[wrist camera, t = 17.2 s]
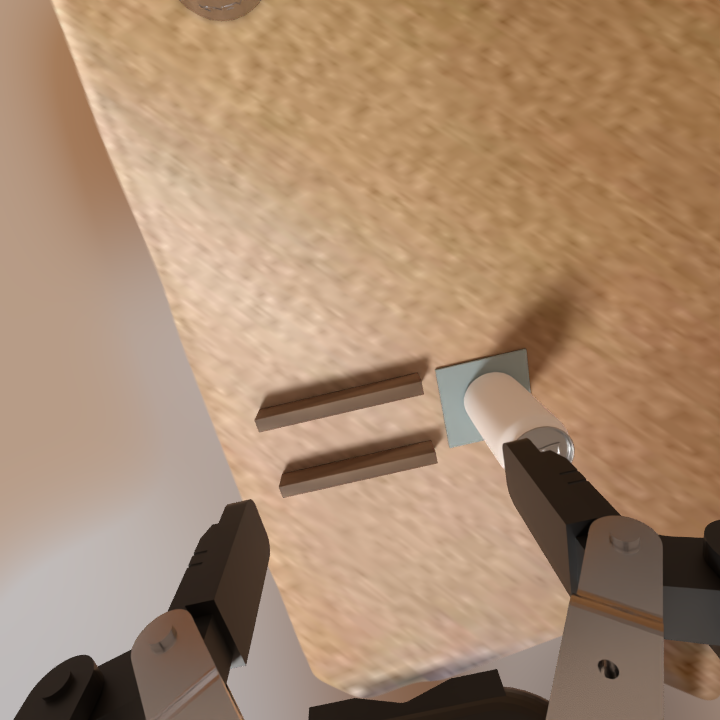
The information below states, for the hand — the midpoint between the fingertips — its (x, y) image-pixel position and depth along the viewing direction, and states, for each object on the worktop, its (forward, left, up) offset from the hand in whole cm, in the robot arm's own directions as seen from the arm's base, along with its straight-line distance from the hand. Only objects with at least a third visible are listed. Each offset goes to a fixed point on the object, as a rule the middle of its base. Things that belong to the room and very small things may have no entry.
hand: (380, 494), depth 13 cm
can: (+14, +12, -30) cm, 35 cm away
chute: (+14, -4, -30) cm, 33 cm away
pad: (+14, +12, -30) cm, 35 cm away
